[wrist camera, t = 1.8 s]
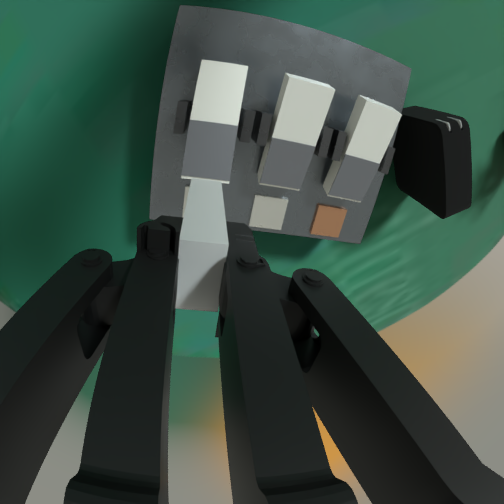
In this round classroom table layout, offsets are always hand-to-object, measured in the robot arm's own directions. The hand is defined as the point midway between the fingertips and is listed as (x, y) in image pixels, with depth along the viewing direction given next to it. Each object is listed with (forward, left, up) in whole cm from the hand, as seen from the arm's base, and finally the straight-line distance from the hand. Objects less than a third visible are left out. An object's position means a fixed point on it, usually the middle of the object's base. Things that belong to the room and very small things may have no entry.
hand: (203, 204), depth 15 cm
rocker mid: (-4, +6, -8) cm, 11 cm away
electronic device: (-5, +23, -16) cm, 28 cm away
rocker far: (-4, +12, -8) cm, 15 cm away
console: (-4, +6, -16) cm, 17 cm away
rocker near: (-4, 0, -8) cm, 9 cm away
